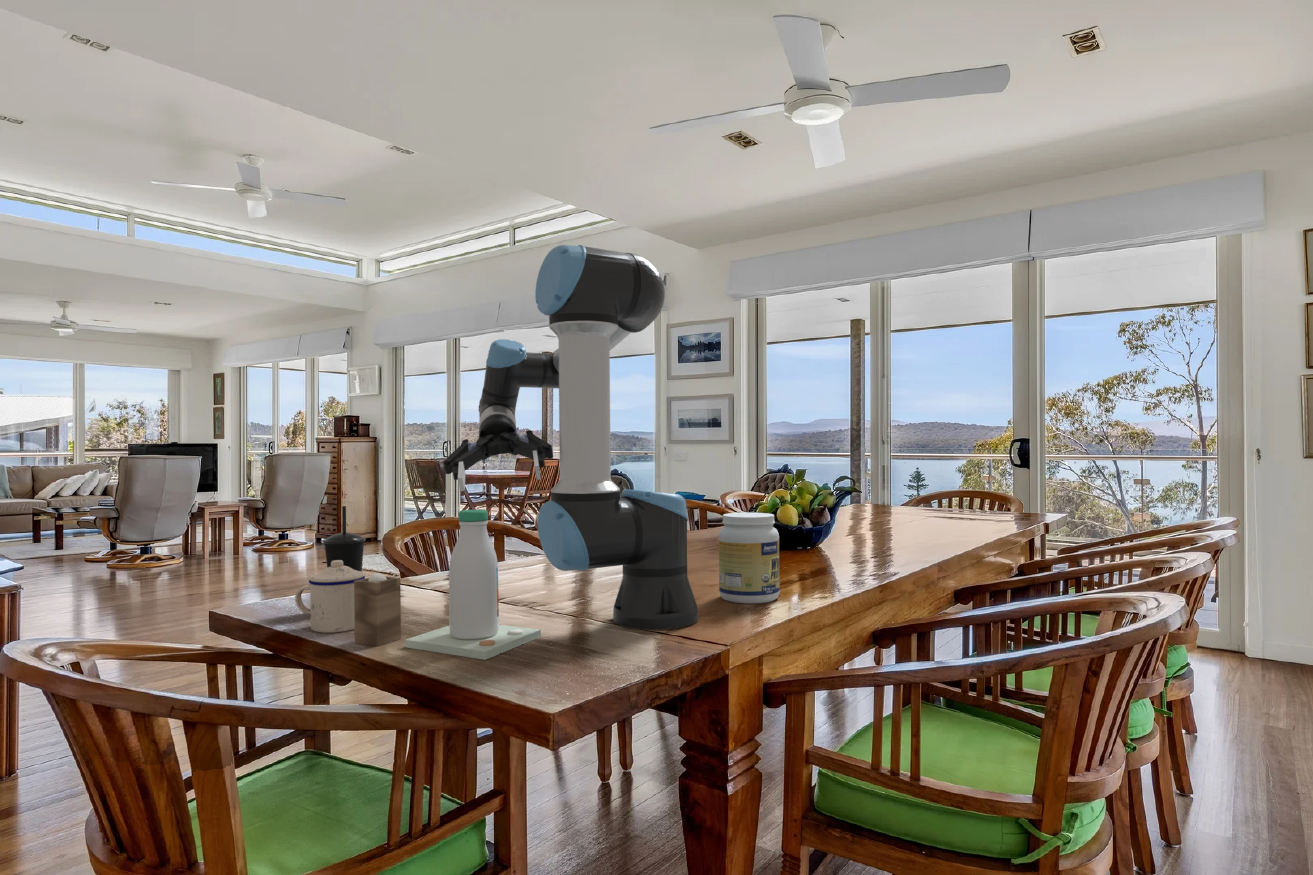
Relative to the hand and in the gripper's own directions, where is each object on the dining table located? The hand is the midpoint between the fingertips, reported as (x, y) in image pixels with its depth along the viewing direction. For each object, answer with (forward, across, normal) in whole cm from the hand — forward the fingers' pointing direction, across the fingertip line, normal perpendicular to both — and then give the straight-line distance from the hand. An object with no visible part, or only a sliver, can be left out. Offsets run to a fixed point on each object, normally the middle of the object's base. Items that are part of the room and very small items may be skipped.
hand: (499, 478), depth 134 cm
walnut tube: (+18, +23, -17) cm, 33 cm away
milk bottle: (+22, +7, -16) cm, 28 cm away
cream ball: (+15, +22, -10) cm, 28 cm away
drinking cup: (-6, +34, -26) cm, 43 cm away
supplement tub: (+5, -45, -33) cm, 56 cm away
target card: (+22, +7, -17) cm, 29 cm away
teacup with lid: (+7, +33, -20) cm, 39 cm away
